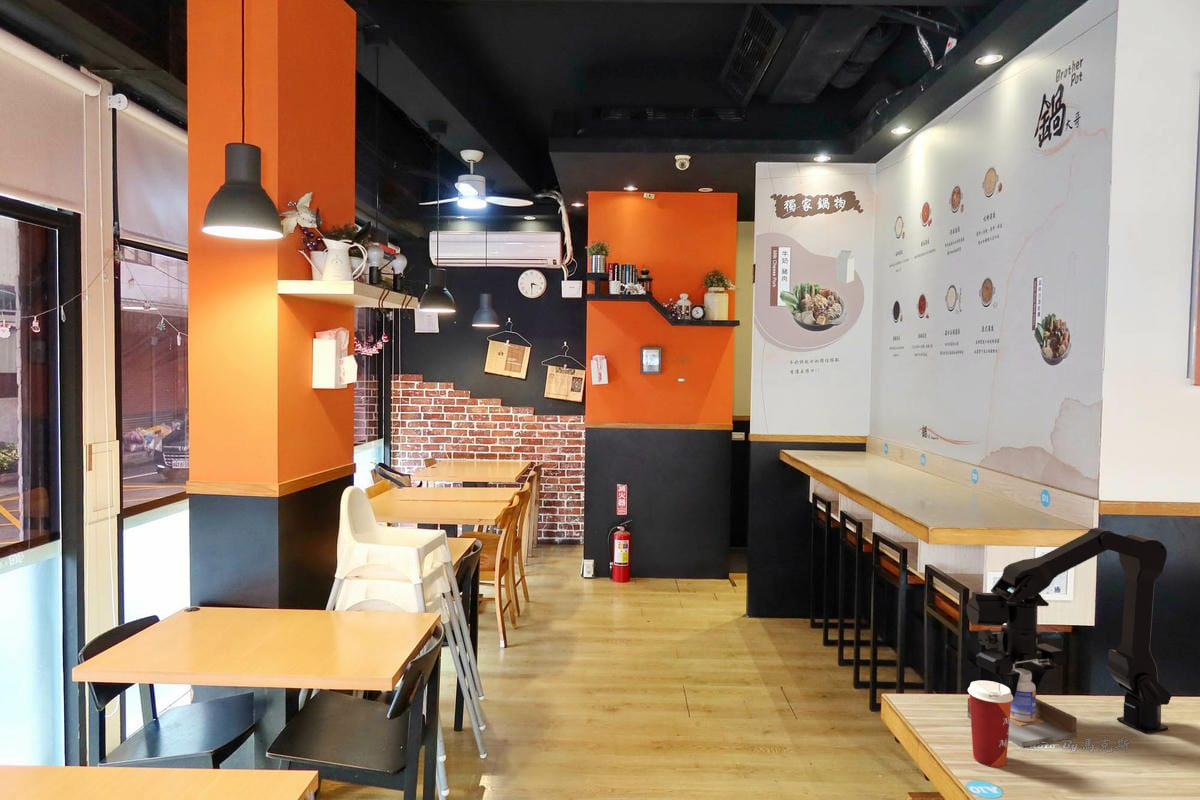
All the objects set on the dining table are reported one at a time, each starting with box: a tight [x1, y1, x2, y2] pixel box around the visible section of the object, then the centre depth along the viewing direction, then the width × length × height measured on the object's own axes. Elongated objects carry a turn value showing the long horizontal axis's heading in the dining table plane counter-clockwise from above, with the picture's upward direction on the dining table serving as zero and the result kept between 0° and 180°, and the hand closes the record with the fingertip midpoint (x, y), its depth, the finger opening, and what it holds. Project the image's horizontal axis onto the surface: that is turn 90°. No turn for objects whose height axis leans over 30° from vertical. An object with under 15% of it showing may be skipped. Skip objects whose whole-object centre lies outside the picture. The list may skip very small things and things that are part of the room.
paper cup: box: [967, 679, 1013, 768], centre depth 141 cm, size 8×8×14 cm
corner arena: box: [967, 697, 1078, 748], centre depth 155 cm, size 14×14×4 cm
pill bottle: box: [1010, 667, 1037, 722], centre depth 157 cm, size 5×5×10 cm
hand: (1021, 698), depth 157 cm, fingers closed on pill bottle, 5 cm apart
